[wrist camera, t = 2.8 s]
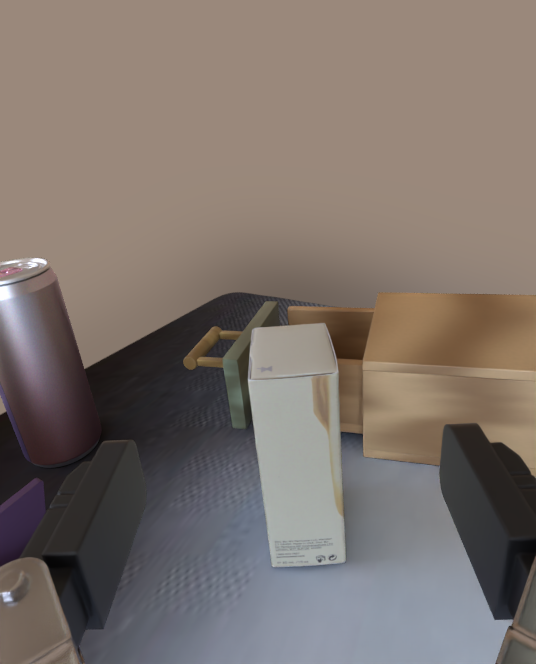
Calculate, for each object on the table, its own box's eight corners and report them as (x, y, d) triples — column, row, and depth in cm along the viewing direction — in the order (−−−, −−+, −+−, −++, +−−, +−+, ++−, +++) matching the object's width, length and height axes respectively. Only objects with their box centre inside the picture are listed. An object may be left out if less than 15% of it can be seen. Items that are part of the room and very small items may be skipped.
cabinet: (363, 457, 34) (362, 361, 31) (377, 370, 45) (378, 292, 41) (576, 482, 30) (602, 375, 27) (537, 380, 41) (551, 294, 38)
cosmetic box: (348, 566, 26) (342, 376, 21) (269, 571, 26) (245, 383, 21) (334, 483, 32) (327, 318, 27) (270, 487, 32) (250, 324, 27)
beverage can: (10, 458, 38) (-63, 280, 31) (71, 417, 42) (18, 254, 36) (59, 481, 35) (-11, 289, 28) (119, 434, 39) (70, 259, 33)
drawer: (177, 422, 39) (163, 355, 36) (226, 356, 48) (218, 299, 46) (395, 445, 34) (397, 370, 31) (401, 367, 43) (403, 304, 41)
